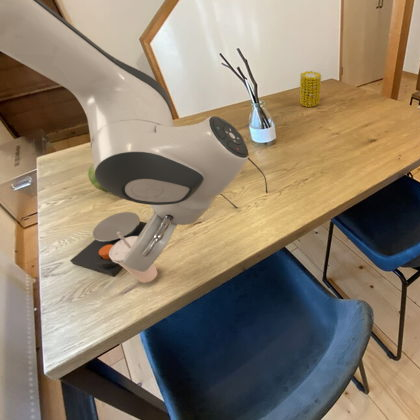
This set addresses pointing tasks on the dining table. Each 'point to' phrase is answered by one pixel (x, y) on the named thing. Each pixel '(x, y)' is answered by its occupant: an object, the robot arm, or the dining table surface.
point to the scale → (94, 260)
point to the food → (310, 88)
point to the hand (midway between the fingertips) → (148, 237)
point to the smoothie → (120, 252)
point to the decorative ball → (92, 178)
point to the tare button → (105, 252)
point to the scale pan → (116, 227)
